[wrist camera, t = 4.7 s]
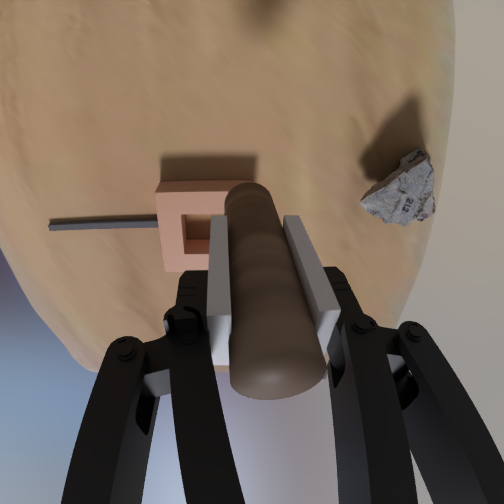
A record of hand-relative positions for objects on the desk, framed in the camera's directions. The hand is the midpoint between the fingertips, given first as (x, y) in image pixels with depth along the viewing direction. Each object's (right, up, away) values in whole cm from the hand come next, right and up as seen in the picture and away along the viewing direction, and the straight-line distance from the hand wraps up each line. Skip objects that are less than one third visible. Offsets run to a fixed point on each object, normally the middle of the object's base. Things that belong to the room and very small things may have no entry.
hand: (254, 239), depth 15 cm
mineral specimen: (+17, +8, +17) cm, 25 cm away
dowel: (0, +2, +3) cm, 4 cm away
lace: (-18, +3, +17) cm, 25 cm away
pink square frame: (-5, +3, +19) cm, 20 cm away
